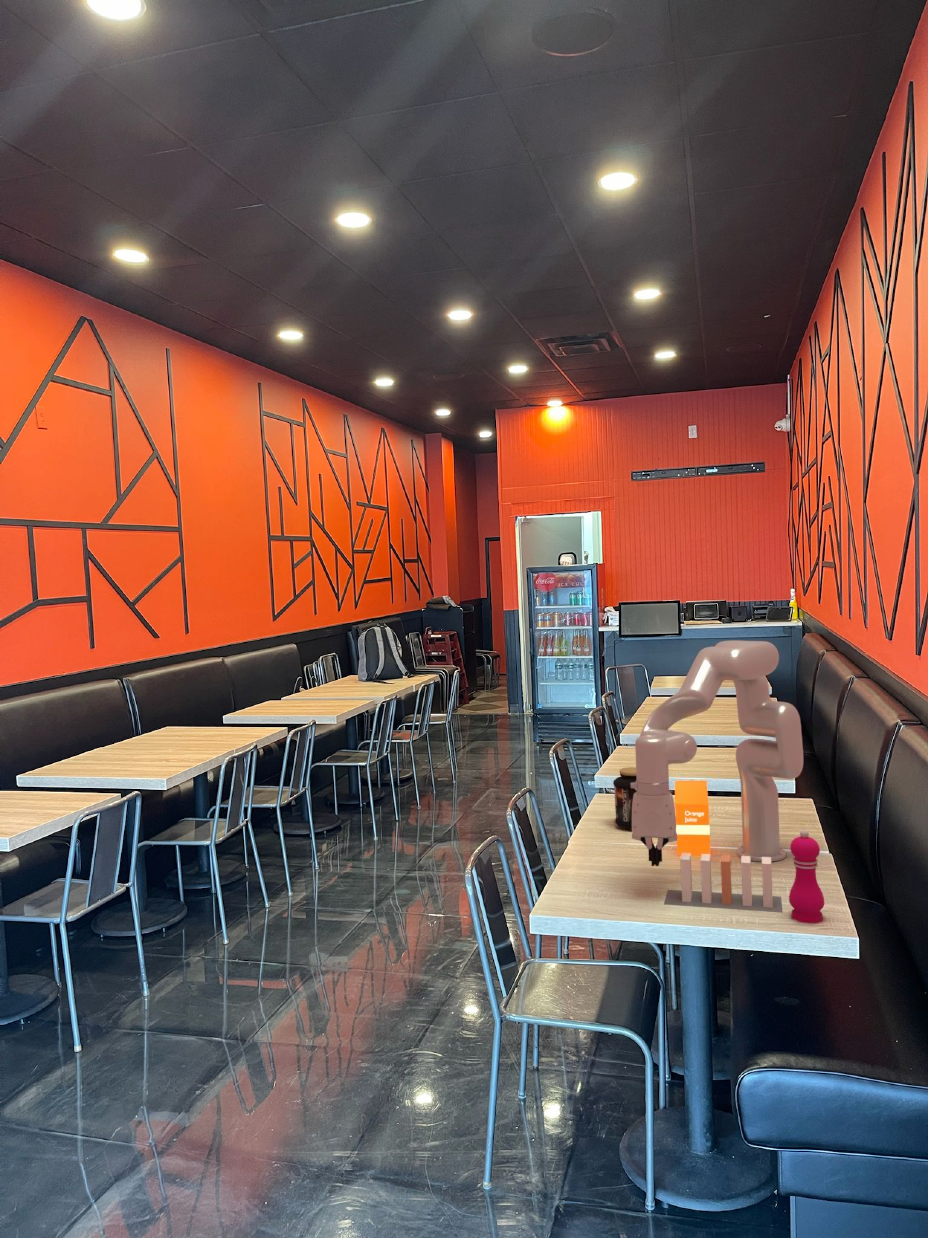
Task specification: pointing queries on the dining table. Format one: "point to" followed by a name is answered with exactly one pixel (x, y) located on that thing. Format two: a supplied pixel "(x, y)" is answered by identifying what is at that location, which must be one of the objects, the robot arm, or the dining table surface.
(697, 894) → the mat
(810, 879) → the pepper mill
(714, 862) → the dining table surface
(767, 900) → the domino
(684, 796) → the orange juice
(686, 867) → the domino
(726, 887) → the domino
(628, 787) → the container
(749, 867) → the domino
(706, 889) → the domino
